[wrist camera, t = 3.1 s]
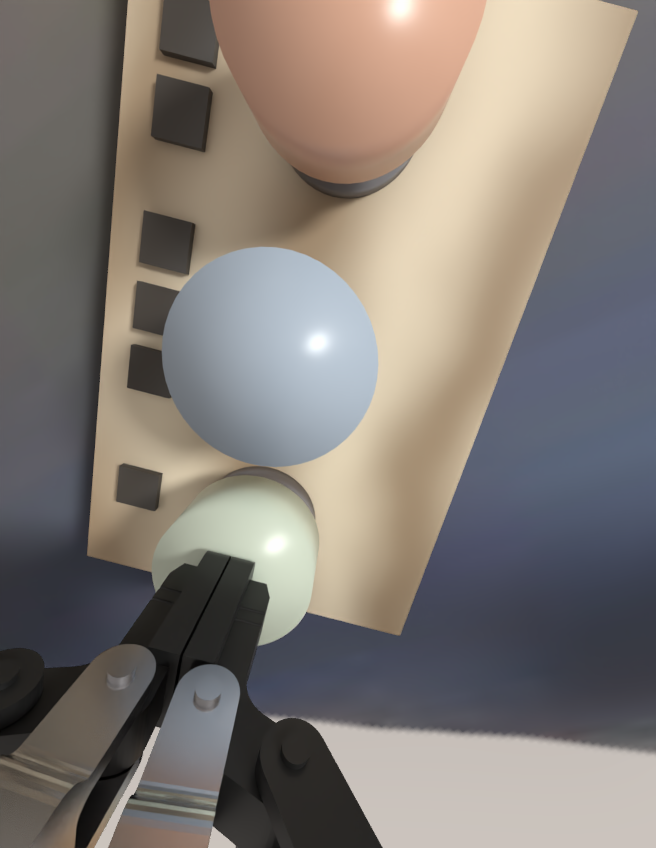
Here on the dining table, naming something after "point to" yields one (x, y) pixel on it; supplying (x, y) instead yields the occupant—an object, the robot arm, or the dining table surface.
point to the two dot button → (346, 76)
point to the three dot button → (270, 356)
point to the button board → (351, 260)
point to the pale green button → (250, 543)
